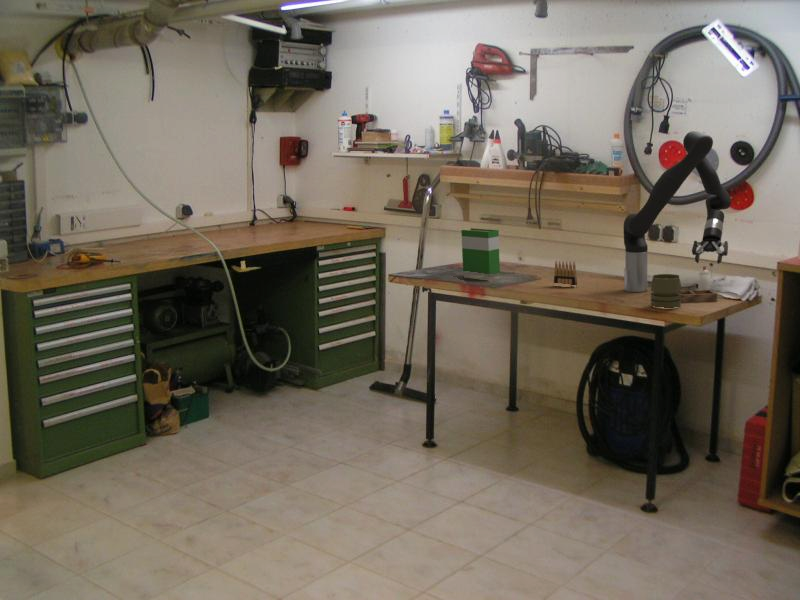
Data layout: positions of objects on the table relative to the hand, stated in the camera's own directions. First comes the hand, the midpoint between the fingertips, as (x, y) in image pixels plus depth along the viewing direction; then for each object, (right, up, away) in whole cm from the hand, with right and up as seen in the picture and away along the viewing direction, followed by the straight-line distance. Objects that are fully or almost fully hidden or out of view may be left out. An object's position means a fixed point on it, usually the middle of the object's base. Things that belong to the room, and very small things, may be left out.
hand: (707, 262), depth 364 cm
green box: (-90, -6, +59) cm, 108 cm away
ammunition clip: (-55, -10, +27) cm, 62 cm away
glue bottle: (-3, -13, -4) cm, 14 cm away
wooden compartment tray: (-11, -16, -14) cm, 24 cm away
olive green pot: (-25, -19, -23) cm, 39 cm away
